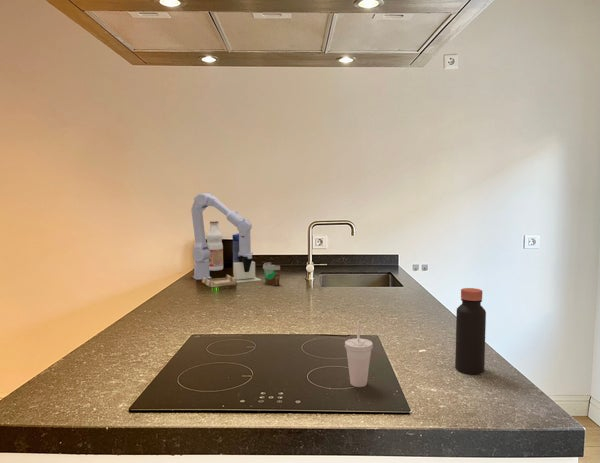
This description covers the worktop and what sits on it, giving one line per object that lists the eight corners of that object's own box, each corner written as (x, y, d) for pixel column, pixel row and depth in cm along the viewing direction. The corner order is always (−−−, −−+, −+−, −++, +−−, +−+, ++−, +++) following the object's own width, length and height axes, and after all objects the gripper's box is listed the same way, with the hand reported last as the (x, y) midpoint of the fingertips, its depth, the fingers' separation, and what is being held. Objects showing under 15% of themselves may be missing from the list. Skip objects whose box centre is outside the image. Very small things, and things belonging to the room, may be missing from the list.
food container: (259, 283, 224) (259, 262, 223) (270, 281, 226) (270, 262, 226) (268, 287, 213) (268, 266, 212) (280, 286, 215) (280, 265, 214)
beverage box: (250, 272, 253) (249, 233, 251) (245, 276, 242) (245, 235, 240) (238, 272, 254) (237, 233, 252) (233, 276, 243) (232, 235, 241)
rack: (201, 282, 225) (201, 276, 225) (227, 280, 231) (227, 274, 231) (209, 287, 213) (209, 281, 212) (236, 285, 219) (236, 279, 218)
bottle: (450, 369, 113) (451, 290, 111) (462, 362, 118) (464, 286, 116) (476, 377, 108) (479, 294, 107) (488, 369, 113) (491, 289, 111)
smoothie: (369, 377, 108) (370, 319, 107) (375, 389, 102) (375, 327, 101) (342, 378, 108) (343, 320, 107) (346, 389, 102) (346, 328, 101)
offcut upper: (213, 284, 218) (212, 282, 218) (228, 282, 222) (228, 280, 222) (215, 286, 215) (215, 283, 215) (231, 284, 219) (231, 281, 218)
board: (229, 279, 235) (228, 278, 235) (252, 276, 241) (252, 275, 241) (237, 283, 223) (237, 282, 223) (262, 280, 229) (262, 279, 229)
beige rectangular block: (233, 278, 231) (233, 262, 230) (252, 276, 236) (252, 261, 235) (236, 279, 228) (236, 263, 227) (255, 277, 232) (254, 262, 231)
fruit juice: (220, 270, 260) (220, 221, 257) (204, 270, 260) (203, 221, 258) (225, 268, 269) (224, 220, 267) (209, 268, 270) (208, 220, 267)
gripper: (257, 245, 226) (258, 272, 227) (247, 242, 239) (247, 268, 240) (244, 246, 223) (244, 273, 224) (234, 243, 235) (234, 269, 237)
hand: (245, 271), depth 232 cm, fingers closed on beige rectangular block, 4 cm apart
